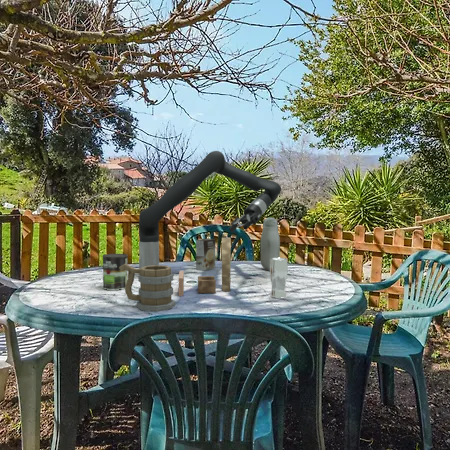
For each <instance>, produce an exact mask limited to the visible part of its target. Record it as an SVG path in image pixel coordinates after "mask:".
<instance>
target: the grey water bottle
mask: <svg viewBox="0 0 450 450" xmlns="http://www.w3.org/2000/svg"><path fill="white" fill-rule="evenodd" d="M280 239H281V238H280V234H279V226H278V220H277V219H276V218H274V217H266V218H265V219H264V220H263V225H262V233H261V236H260V265H261V267H262V268H263V269H264V270H266V271H270V259H271V258H281V257H280V255H281V254H280V253H281V250H280V249H281V240H280Z"/></svg>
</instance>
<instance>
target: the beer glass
mask: <svg viewBox="0 0 450 450" xmlns="http://www.w3.org/2000/svg"><path fill="white" fill-rule="evenodd" d="M288 268H289V267H288V258H286V257H280V258H271V259H270V270H269V278H270V282H271V292H270V297H271V298H272V297H276V298H275V299H278V298H281V297H286V298H287V294H286V284H287V279H288V270H289V269H288ZM281 299H282V298H281Z"/></svg>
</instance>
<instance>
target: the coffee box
mask: <svg viewBox="0 0 450 450" xmlns="http://www.w3.org/2000/svg"><path fill="white" fill-rule="evenodd" d="M195 241H196V243H195V244H196V245H195V252H196V253H195V270H197V271H204V272H205V271H210V270H214V269H216V239H215V238H202V239H196V240H195Z"/></svg>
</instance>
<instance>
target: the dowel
mask: <svg viewBox="0 0 450 450" xmlns="http://www.w3.org/2000/svg"><path fill="white" fill-rule="evenodd" d="M231 239H232V238H231V237H221V291H222V292H227V293H228V292H231V271H232V270H231V267H232V266H231V252H232V250H231V246H232V245H231V243H232V241H231Z"/></svg>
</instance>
